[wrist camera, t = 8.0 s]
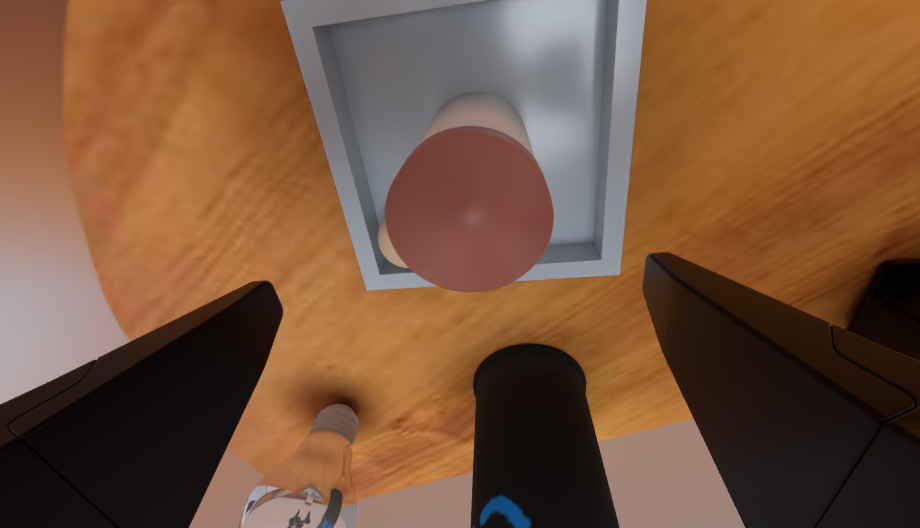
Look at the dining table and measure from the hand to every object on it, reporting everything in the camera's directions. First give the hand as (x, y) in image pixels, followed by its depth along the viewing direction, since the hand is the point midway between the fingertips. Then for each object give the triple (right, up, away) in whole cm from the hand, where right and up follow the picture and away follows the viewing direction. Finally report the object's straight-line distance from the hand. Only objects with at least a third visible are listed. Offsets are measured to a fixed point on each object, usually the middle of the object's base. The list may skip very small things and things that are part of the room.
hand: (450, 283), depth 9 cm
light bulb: (-9, -11, +23) cm, 27 cm away
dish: (+1, +7, +11) cm, 13 cm away
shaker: (+1, +6, +10) cm, 12 cm away
